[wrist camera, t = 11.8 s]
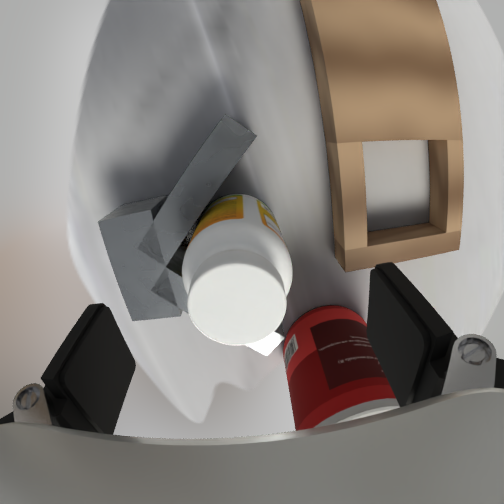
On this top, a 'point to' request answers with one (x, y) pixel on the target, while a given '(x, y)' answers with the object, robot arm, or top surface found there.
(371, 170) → the top surface
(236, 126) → the v block
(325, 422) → the canned food
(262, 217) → the supplement bottle
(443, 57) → the wooden board with cutout
